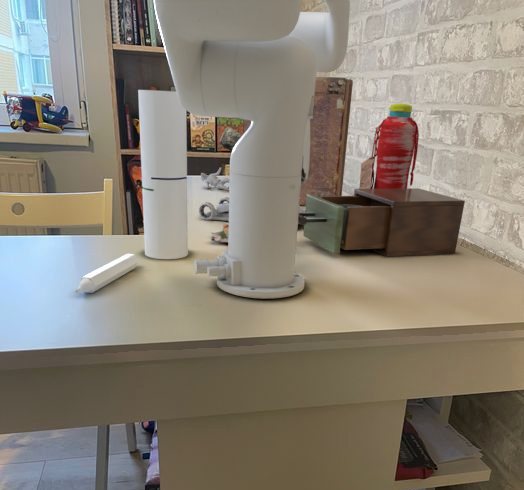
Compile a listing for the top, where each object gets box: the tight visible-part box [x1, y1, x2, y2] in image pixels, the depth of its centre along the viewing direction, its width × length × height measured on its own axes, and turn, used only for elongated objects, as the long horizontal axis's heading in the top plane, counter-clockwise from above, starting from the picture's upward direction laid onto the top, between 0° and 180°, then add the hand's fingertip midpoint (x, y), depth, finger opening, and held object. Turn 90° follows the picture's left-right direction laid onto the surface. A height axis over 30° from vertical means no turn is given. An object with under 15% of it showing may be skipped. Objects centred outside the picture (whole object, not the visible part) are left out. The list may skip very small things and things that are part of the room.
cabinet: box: [353, 187, 466, 258], centre depth 106 cm, size 15×15×10 cm
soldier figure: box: [200, 167, 230, 191], centre depth 164 cm, size 8×5×12 cm
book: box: [242, 76, 354, 207], centre depth 143 cm, size 25×9×30 cm, turn 73°
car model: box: [198, 196, 306, 225], centre depth 121 cm, size 11×24×5 cm, turn 65°
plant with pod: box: [210, 126, 242, 243], centre depth 101 cm, size 8×11×20 cm
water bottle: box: [358, 102, 420, 189], centre depth 119 cm, size 12×8×25 cm, turn 66°
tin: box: [340, 204, 364, 240], centre depth 102 cm, size 6×6×6 cm
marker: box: [75, 253, 140, 294], centre depth 78 cm, size 3×2×16 cm
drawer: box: [298, 194, 391, 254], centre depth 101 cm, size 19×13×8 cm
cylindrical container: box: [137, 89, 189, 260], centre depth 89 cm, size 7×7×25 cm
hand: (283, 221), depth 98 cm, fingers closed
